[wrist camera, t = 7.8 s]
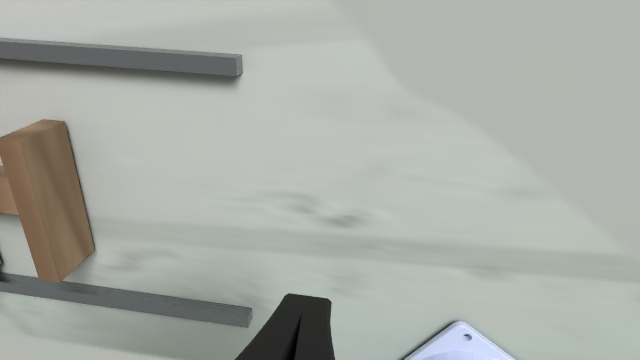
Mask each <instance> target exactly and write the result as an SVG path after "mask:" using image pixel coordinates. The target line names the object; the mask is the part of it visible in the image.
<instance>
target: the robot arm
mask: <svg viewBox="0 0 640 360" xmlns="http://www.w3.org/2000/svg"><path fill="white" fill-rule="evenodd" d="M330 317H331V301H330V300H329V299H327V298H319V297H312V296H305V295H297V294H290V293H288V294H287V295H285V297H284V298H283V300H282V301H281V303H280V304H279V306H278V307H277V309H276V310H275V312H274V313H273V314H272V316H271V317H270V318H269V320H268V321H267V322H266V324H265V325H264V326H263V328H262V329H261V330H260V331H259V332H258V334H257V335H256V336H255V337H254V339H253V340H252V341H251V342H250V343H249V345H248V346H247V347H246V348H245V349H244V350H243V351H242V352H241V353H240V354H239V356H238V357H237V358H236V359H235V360H335V357H334V351H333V345H332V338H331V327H330ZM465 334H469V335H468V336H464V335H465ZM404 360H515V359H514V358H513V357H511V356H510V355H508V354H507V353H506V352H504V351H503V350H502V349H500V348H499V347H498V346H496V345H495V344H493V343H492V342H491V341H489V340H488V339H487V338H485V337H484V336H483V335H481V334H480V333H478V332H477V331H476V330H474V329H473V328H472V327H470V326H469V325H468V324H466V323H464V322H460V321H459V322H455V323H453V324H451V325H450V326H449V327H447V328H446V329H445V330H443V331H442V332H441V333H439V334H438V335H437V336H435V337H434V338H432V339H431V340H430V341H428V342H427V343H426V344H424V345H423V346H422V347H420V348H419V349H417V350H416V351H415V352H413V353H412V354H411V355H409V356H408V357H407V358H405V359H404Z"/></svg>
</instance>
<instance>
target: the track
mask: <svg viewBox="0 0 640 360" xmlns="http://www.w3.org/2000/svg"><path fill="white" fill-rule="evenodd" d="M0 58H2V59H16V60H29V61H42V62H55V63H68V64H81V65H94V66H108V67H121V68H134V69H147V70H160V71H173V72H186V73H200V74H213V75H226V76H238V75H240V74H241V73H243V72H242V55H237V54H223V53H209V52H194V51H180V50H166V49H151V48H137V47H123V46H108V45H94V44H80V43H65V42H51V41H37V40H23V39H8V38H0ZM0 291H2V292H9V293H16V294H23V295H29V296H36V297H43V298H50V299H57V300H63V301H70V302H77V303H84V304H91V305H97V306H104V307H111V308H118V309H125V310H131V311H138V312H145V313H152V314H159V315H165V316H172V317H179V318H186V319H193V320H199V321H206V322H213V323H220V324H227V325H233V326H240V327H247V328H248V327H249V325H250V322H251V320H252V308H247V307H240V306H233V305H226V304H219V303H212V302H205V301H198V300H191V299H183V298H176V297H169V296H162V295H155V294H148V293H141V292H134V291H127V290H120V289H113V288H106V287H99V286H92V285H84V284H77V283H70V282H63V281H61V282H60V283H59V282H52V281H45V280H39V278H35V277H28V276H21V275H14V274H7V273H0Z"/></svg>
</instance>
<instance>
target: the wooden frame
mask: <svg viewBox="0 0 640 360" xmlns="http://www.w3.org/2000/svg"><path fill="white" fill-rule="evenodd" d="M0 156H1V159H2V163H3V166H0V213H5V214H13V215H19V217H20V220H21V223H22V226H23V229H24V233H25V236H26V239H27V242H28V245H29V248H30V252H31V255H32V258H33V261H34V264H35V268H36V271H37V274H38V277H39V280H45V281H52V282H59V283H60V282H61V281H62V280H63V279H64V278H65V277H66V276H67V275H69V274H70V273H71V272H72V271H73V270H74V269H75V268H76V267H77V266H78V265H79V264H80V263H81V262H83V261H84V260H85V259H86V258H87V257H88V256H89V255H90V254H91V253H92V252H93V251H94V250H95V249H94V245H93V240H92V236H91V232H90V227H89V223H88V219H87V215H86V210H85V206H84V202H83V197H82V193H81V189H80V185H79V180H78V176H77V172H76V167H75V163H74V159H73V155H72V150H71V146H70V142H69V137H68V133H67V129H66V125H65V121H55V120H44V119H43V120H41V121H38V122H36V123H34V124H31V125H29V126H26V127H24V128H22V129H19V130H17V131H15V132H12V133H10V134H7V135H5V136H3V137H0ZM0 264H1V260H0Z"/></svg>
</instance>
